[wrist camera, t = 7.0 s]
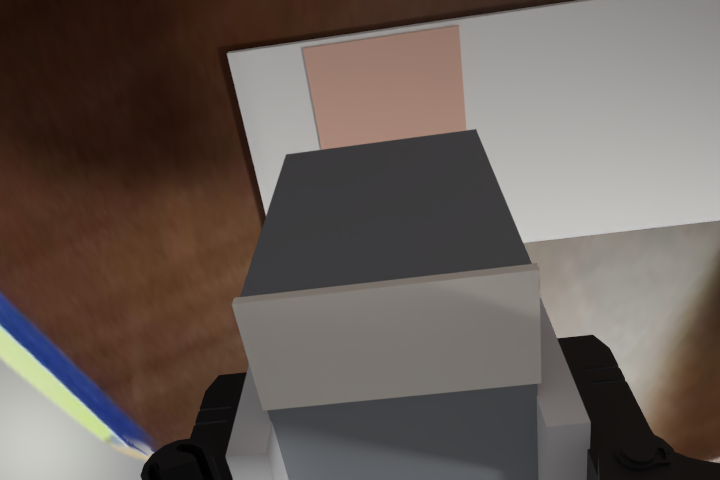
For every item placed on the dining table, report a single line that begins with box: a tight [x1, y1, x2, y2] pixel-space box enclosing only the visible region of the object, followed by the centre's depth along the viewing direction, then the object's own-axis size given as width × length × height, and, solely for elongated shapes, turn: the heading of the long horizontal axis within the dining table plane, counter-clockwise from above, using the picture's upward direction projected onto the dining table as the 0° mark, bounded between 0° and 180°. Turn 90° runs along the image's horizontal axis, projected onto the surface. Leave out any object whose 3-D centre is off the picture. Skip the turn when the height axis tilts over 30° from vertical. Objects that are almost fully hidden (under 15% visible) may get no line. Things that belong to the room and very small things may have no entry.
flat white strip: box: [227, 0, 720, 243], centre depth 27 cm, size 23×10×1 cm, turn 98°
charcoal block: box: [232, 129, 541, 480], centre depth 16 cm, size 8×5×7 cm, turn 8°
